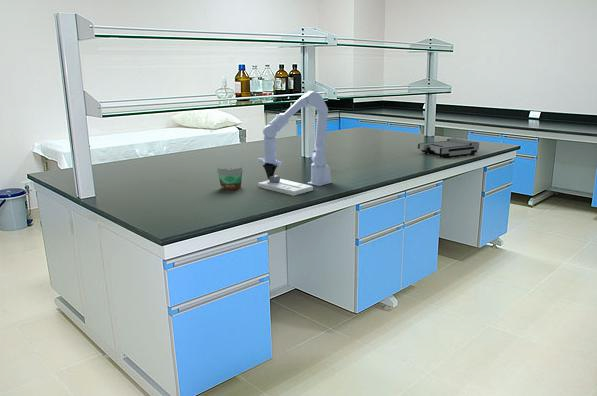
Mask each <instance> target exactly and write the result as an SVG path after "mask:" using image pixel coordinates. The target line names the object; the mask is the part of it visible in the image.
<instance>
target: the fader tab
mask: <svg viewBox="0 0 597 396" xmlns="http://www.w3.org/2000/svg"><path fill="white" fill-rule="evenodd" d="M280 177H281V176H280V175H276V174H274V176H269V179H268V180H269V182H272V183H275V182H279V181H280V179H281V178H280Z"/></svg>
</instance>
